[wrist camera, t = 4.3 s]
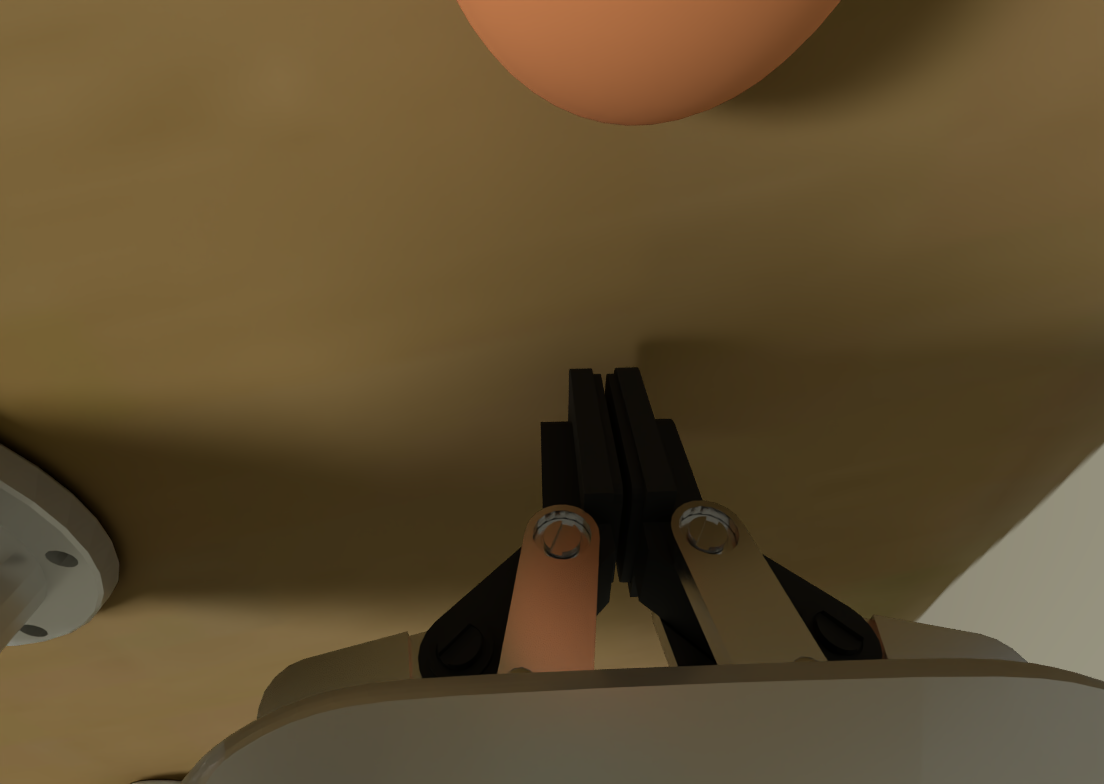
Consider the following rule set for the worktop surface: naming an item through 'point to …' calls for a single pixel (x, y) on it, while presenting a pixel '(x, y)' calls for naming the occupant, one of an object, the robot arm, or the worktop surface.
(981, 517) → the worktop surface
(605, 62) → the ball
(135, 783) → the lidded jar
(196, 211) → the worktop surface
